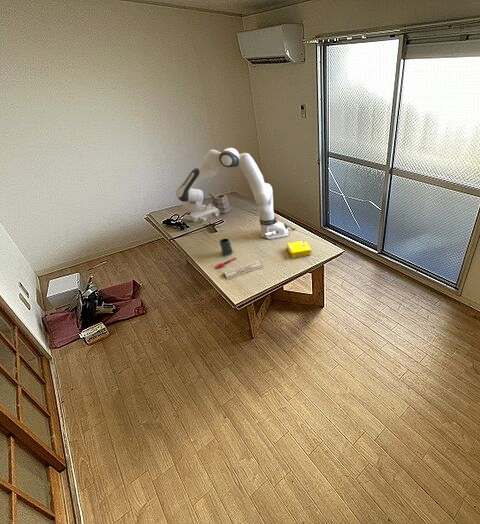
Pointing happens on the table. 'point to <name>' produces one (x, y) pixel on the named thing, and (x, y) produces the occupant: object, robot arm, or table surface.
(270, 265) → the table surface
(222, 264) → the spoon
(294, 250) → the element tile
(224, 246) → the mug
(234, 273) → the newspaper
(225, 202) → the tankard
